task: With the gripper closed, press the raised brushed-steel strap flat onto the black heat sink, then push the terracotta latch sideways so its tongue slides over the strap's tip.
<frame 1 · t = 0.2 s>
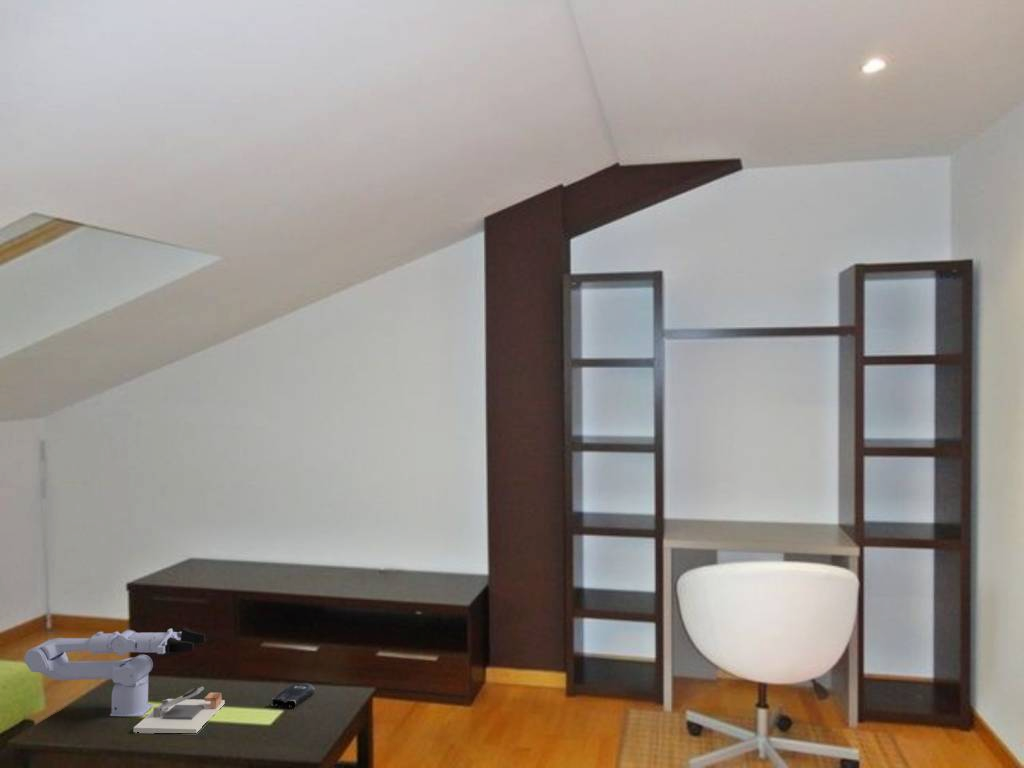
hand: (199, 642, 228), 21 cm above the table, tool horizontal, fingers open, 7 cm apart
electronic device: (294, 700, 239), on the table
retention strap: (179, 698, 224), point 6 cm above the table, hinge at 25.0°
latch: (213, 700, 229), point 3 cm above the table, slide at 0.0 cm
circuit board: (180, 718, 224), on the table
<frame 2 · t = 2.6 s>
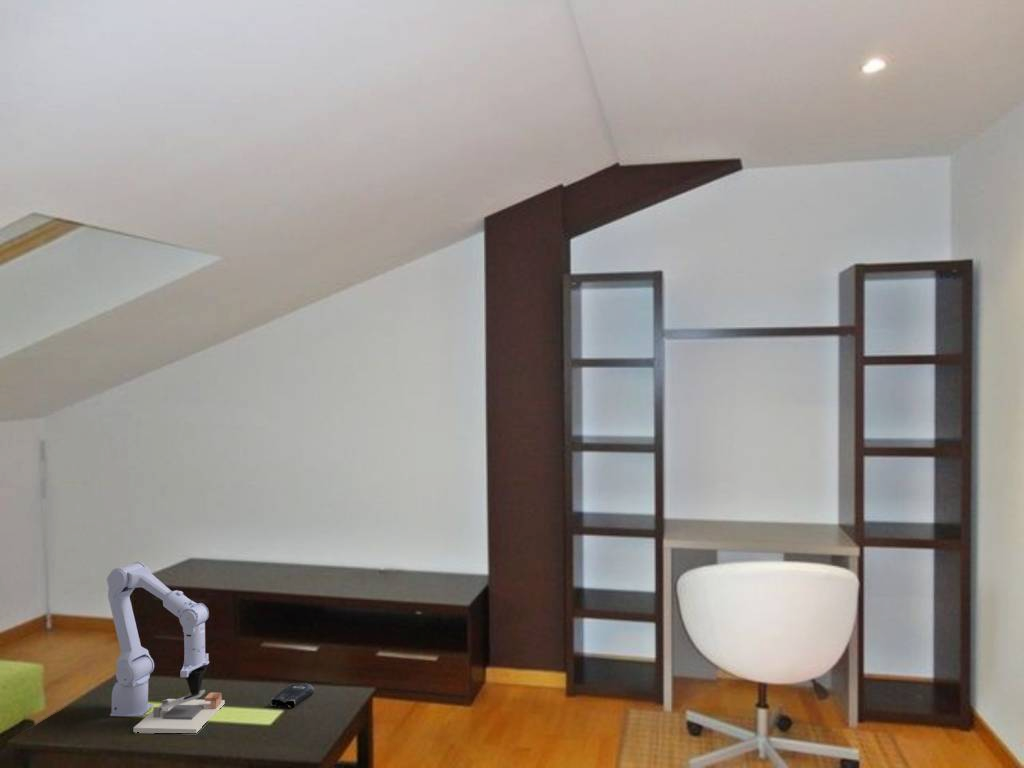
hand: (195, 692, 224), 8 cm above the table, tool pointing down, fingers closed, pressing on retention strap
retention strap: (180, 700, 224), point 5 cm above the table, hinge at 20.3°, touching gripper
everything else where it was.
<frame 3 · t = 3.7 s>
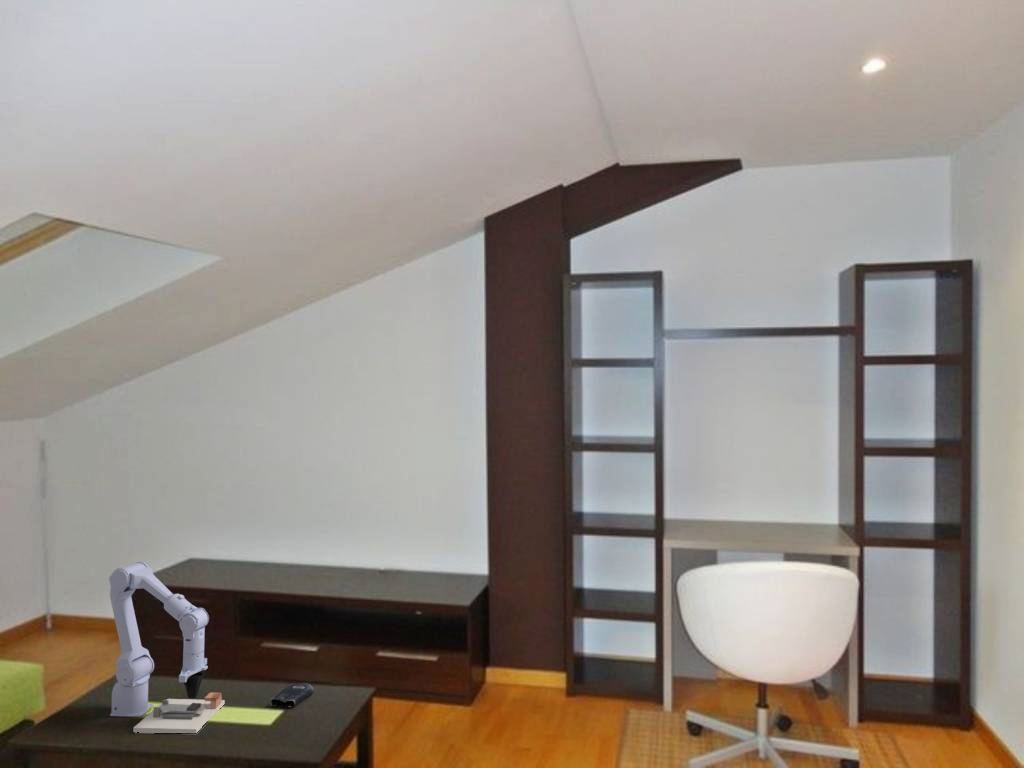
hand: (192, 697, 224), 6 cm above the table, tool pointing down, fingers closed
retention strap: (181, 708, 224), point 3 cm above the table, hinge at -1.3°
everything else where it was.
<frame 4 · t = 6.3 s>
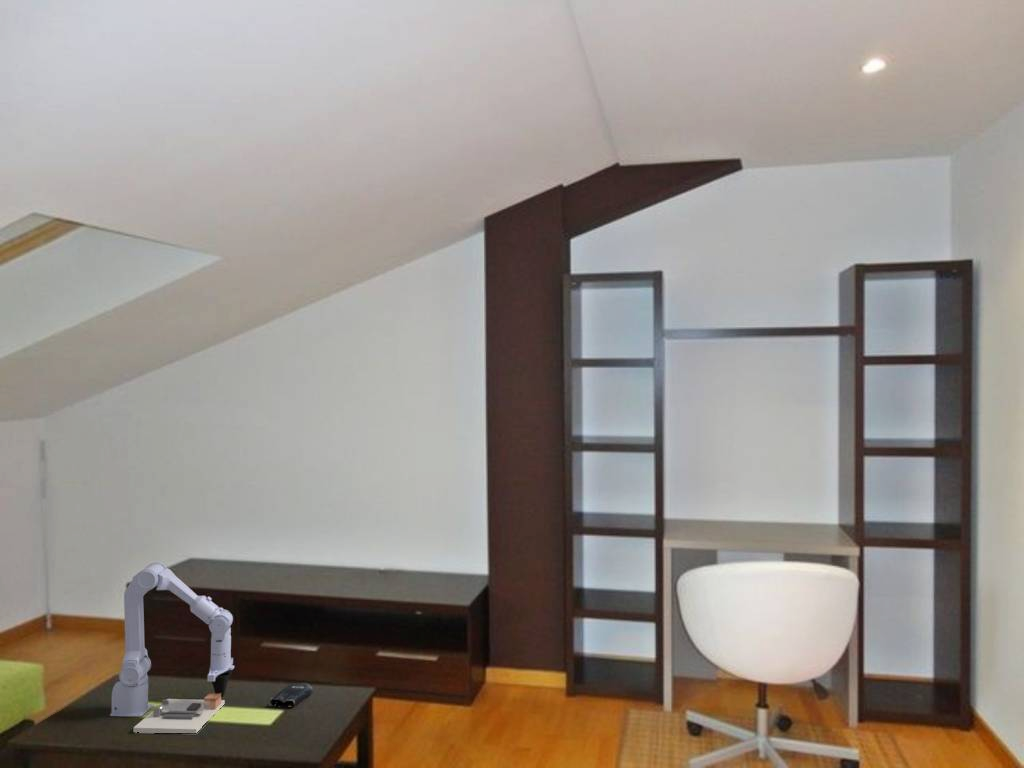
hand: (220, 696, 232), 3 cm above the table, tool pointing down, fingers closed
latch: (212, 700, 229), point 3 cm above the table, slide at 0.4 cm, touching gripper
everything else where it was.
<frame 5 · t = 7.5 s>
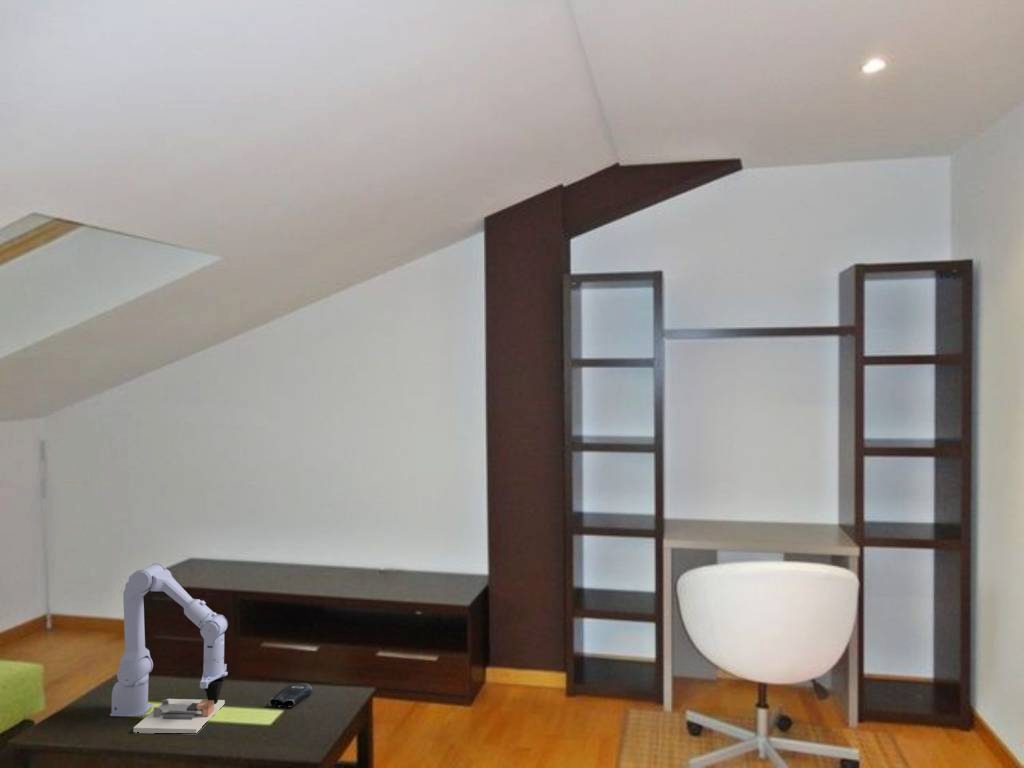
hand: (213, 703, 227), 3 cm above the table, tool pointing down, fingers closed
latch: (205, 707, 224), point 3 cm above the table, slide at 5.5 cm, touching gripper
everything else where it was.
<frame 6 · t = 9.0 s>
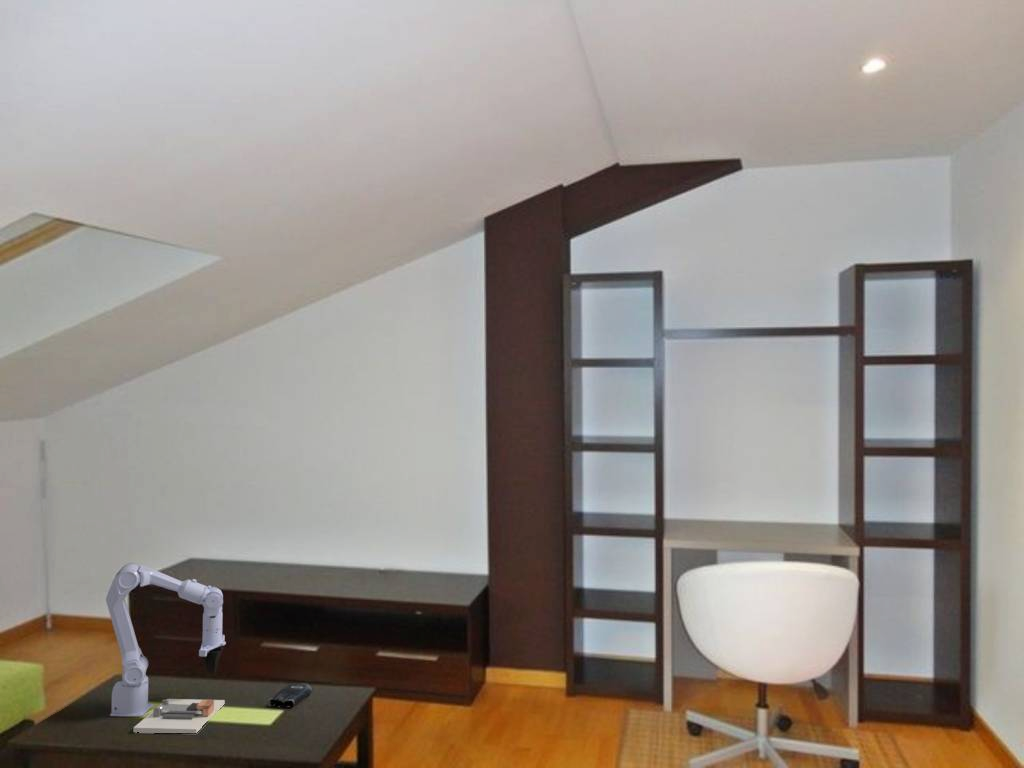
hand: (211, 671, 236), 9 cm above the table, tool pointing down, fingers closed
latch: (205, 707, 224), point 3 cm above the table, slide at 5.5 cm
everything else where it was.
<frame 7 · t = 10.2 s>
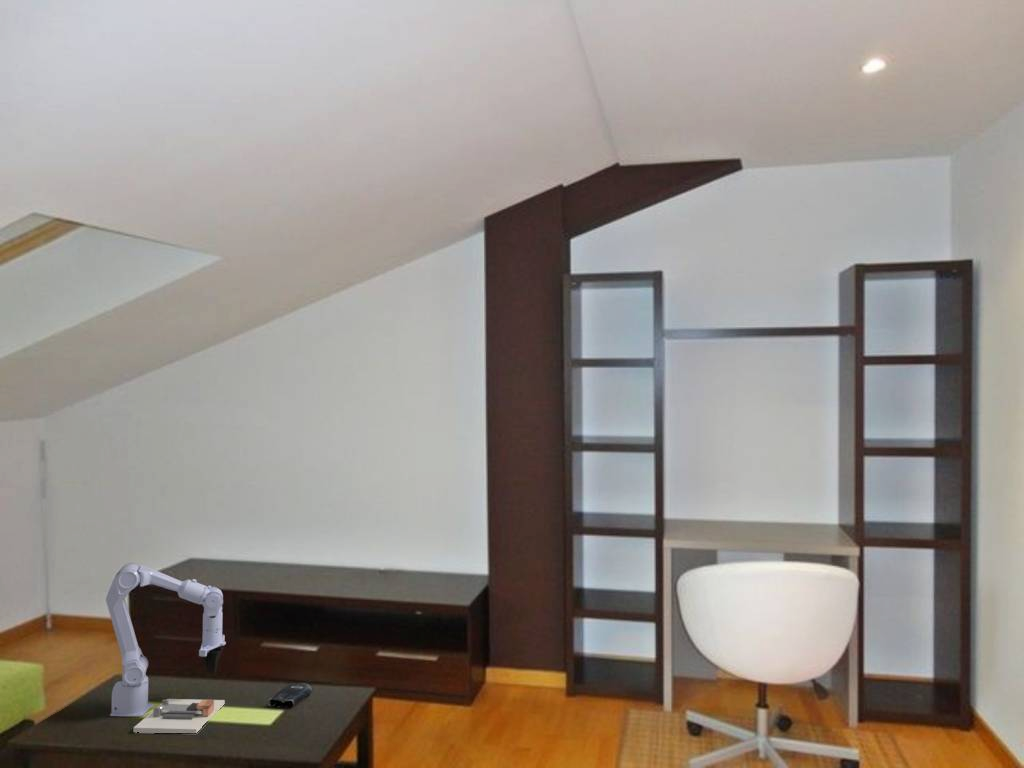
hand: (211, 671, 236), 9 cm above the table, tool pointing down, fingers closed
nothing on the table moved.
at the end: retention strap at -1° (first picture: +25°); latch slide at 5.5 cm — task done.
